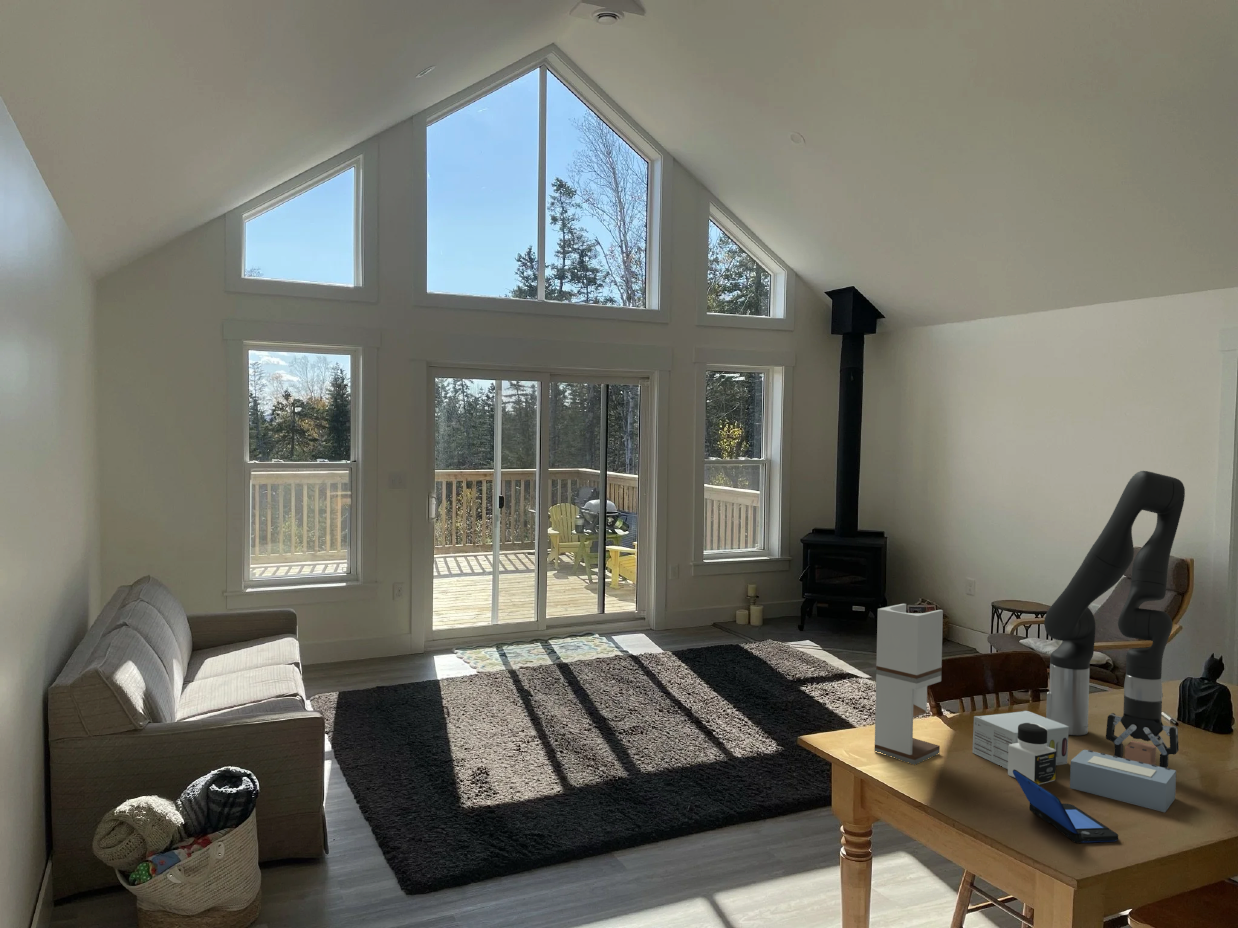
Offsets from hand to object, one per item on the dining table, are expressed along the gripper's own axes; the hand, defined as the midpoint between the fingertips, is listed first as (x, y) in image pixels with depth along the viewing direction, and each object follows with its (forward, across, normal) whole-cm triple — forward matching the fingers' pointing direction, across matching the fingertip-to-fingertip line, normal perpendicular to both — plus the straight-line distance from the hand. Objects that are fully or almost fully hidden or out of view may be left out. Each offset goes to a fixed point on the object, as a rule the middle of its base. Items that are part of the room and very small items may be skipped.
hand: (1140, 764), depth 201 cm
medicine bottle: (+2, -17, -22) cm, 28 cm away
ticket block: (+2, 0, -17) cm, 17 cm away
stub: (+2, 0, 0) cm, 2 cm away
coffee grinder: (+2, -44, -27) cm, 52 cm away
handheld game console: (+2, -4, -43) cm, 44 cm away
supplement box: (+2, -23, -11) cm, 26 cm away
